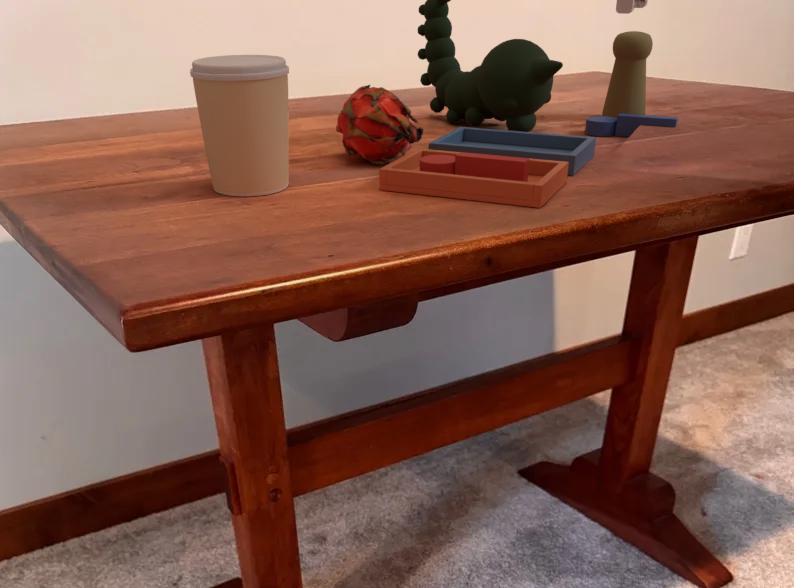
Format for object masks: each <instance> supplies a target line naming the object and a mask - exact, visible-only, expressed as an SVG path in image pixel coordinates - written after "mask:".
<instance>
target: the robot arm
mask: <svg viewBox="0 0 794 588" xmlns="http://www.w3.org/2000/svg"><path fill="white" fill-rule="evenodd" d="M648 1H649V0H616V5H615V11H616V12H615V13H617V14H624V15H625V14H626V15H627V14H630V13H632V12H634V10H635V9H644V8H645V7H646V6H647V5H648Z"/></svg>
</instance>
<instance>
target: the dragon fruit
mask: <svg viewBox="0 0 794 588" xmlns="http://www.w3.org/2000/svg"><path fill="white" fill-rule="evenodd" d="M410 119H411V121H412V122H414V123H416V124H419V121H418V120H417V119H416V118H414V116H412V110H411V108H410V107H408V105H406V103H404V102H403V101H401V100H400V98H399V97H398V96H397V95H396V94H394V93H393V92H392V91H390V90H388V89H387V88H384V87H382V86H381V87H375V86H372V87H371V84H367V85H363V86H360V87H358V88H357V89H356V90H355V91H354V92H353V93H351V95H350V96H349V97H348V98H347V100H346V101H345V102H344V104H343V107H342V109H341V110H340V112H339V113H338V115H337V123H336V126H335V132H337V133H340V134H342V140H341V141H342V146H343V148H344V151H345V154H346V155H347V156H348V157H352V156H356V155H358V154H360V156H362V157H363V158H364V159H365V160H367V161H369V162H370V164H373V165H378V166H381V165H388V164H390V163H391V162H389V161H388V160H386V158H396V157H397V156H399V155H400V154H401V155H402V156H405V155H406V154H407V152H408V151H409V150H411V146H412V145H413V144H416V143H418V142H420V141H421V140H422V138H423V134H424V128H423V127H419V128H418V127H416V126H414V125H413V124H412V123H411V122H410Z"/></svg>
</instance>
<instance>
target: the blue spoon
mask: <svg viewBox="0 0 794 588" xmlns="http://www.w3.org/2000/svg"><path fill="white" fill-rule="evenodd" d="M678 122H679V117H678V116H668V115H667V116H666V115H652V114H645V115H637V114H622V113H620V114H619V115H618V116H617V119H616V118H613V117H606V116H602V115H595V116H588V117H586V118H585V125H584V134H585V135H587V136H590V137H599V138H601V137H603V138H604V137H614V136H615V137H624V136H626V138H629V137H631V136H632V135H633V134H634V133H635V131H637V130H638V129H639V127H640V126H649V127H651V126H652V127H666V128H676V127H677V126H678ZM627 136H628V137H627Z"/></svg>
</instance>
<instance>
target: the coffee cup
mask: <svg viewBox="0 0 794 588" xmlns="http://www.w3.org/2000/svg"><path fill="white" fill-rule="evenodd" d="M191 62H192V63H191V67H192V68H190V69H189V75H190V77H191V78H192V83H193V89H194V94H195V100H196V106H197V111H198V117H199V123H200V128H201V134H202V139H203V143H204V149H205V154H206V160H207V165H208V171H209V175H210V179H211V184H212V189H213V190H214V192H215V193H218V194H220V195H223V196H229V197H261V196H268V195H272V194H277V193H280V192H282V191H284V190H286V189H287V188H288V187H289V184H290V183H289V182H290V181H289V180H290V179H289V178H290V140H289V139H290V138H289V137H290V135H289V134H290V128H289V127H290V126H289V125H290V124H289V123H290V121H289V76H288V74H290V67H289V66H288V65H287V61H286V59H285V57H283V56H279V55H267V54H229V55H228V54H227V55H216V56H206V57H202V58H196V59H194V60H193V61H191Z"/></svg>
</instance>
